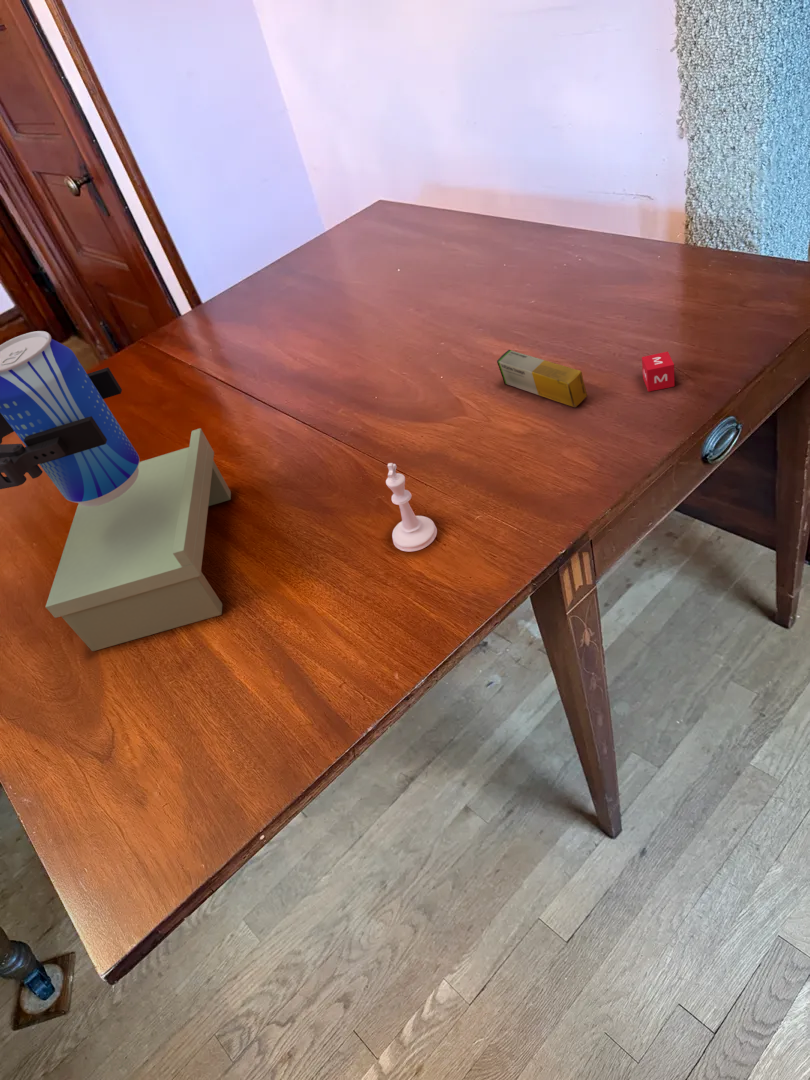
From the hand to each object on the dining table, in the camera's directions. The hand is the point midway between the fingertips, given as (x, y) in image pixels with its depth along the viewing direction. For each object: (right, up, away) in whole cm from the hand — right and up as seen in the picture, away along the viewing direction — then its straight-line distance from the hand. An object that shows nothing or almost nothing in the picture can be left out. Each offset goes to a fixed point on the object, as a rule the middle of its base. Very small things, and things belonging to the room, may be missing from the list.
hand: (106, 404), depth 72 cm
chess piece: (+30, -13, +9) cm, 34 cm away
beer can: (-2, -7, +6) cm, 10 cm away
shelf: (0, -16, +17) cm, 23 cm away
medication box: (+46, +5, +22) cm, 51 cm away
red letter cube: (+59, +6, +17) cm, 62 cm away
